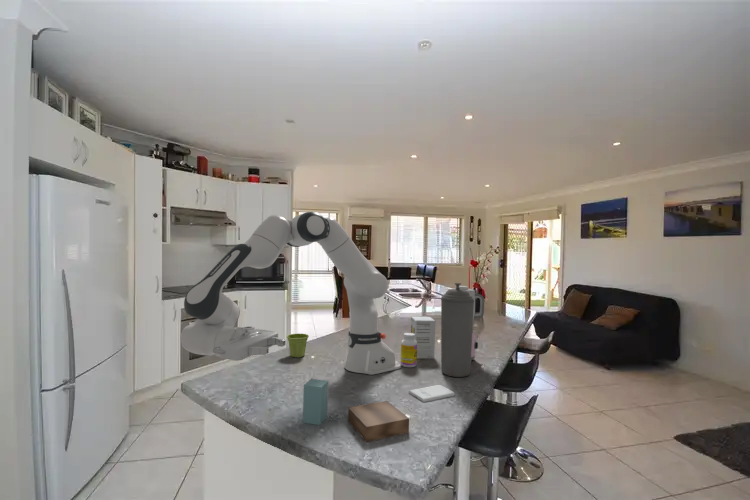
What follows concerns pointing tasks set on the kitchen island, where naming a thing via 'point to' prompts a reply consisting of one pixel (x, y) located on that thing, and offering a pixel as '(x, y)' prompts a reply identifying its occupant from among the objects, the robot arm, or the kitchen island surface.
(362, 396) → the kitchen island surface
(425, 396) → the external hard drive
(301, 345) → the plant pot
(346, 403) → the kitchen island surface
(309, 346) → the kitchen island surface
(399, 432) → the walnut block
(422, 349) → the supplement box
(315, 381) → the teal block
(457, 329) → the canister
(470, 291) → the blender
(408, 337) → the supplement bottle
